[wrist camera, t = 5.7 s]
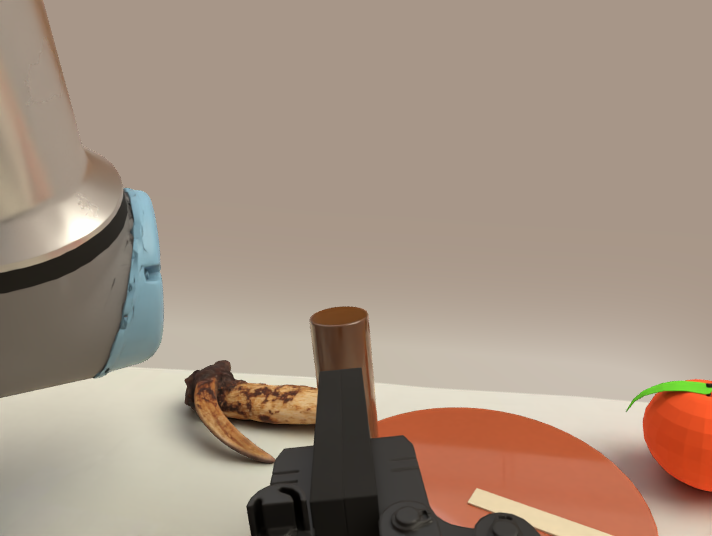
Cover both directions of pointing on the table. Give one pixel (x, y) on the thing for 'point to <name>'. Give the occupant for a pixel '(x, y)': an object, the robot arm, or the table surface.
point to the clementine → (681, 430)
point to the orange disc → (492, 454)
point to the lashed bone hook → (246, 405)
